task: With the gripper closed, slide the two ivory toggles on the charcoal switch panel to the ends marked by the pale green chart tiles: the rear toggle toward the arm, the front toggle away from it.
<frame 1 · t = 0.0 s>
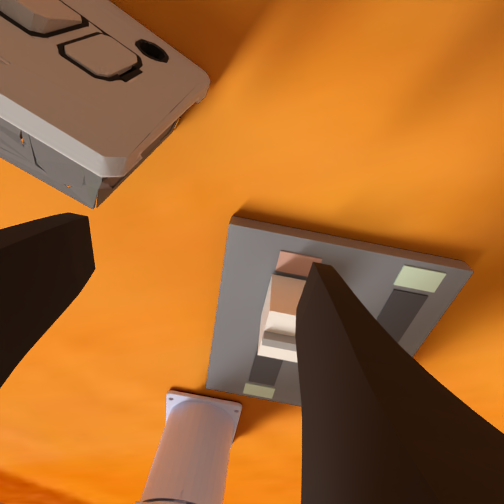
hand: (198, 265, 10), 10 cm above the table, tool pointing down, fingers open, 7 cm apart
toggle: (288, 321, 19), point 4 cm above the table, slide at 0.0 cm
switch panel: (311, 330, 25), on the table
electrical switch: (124, 74, 16), on the table
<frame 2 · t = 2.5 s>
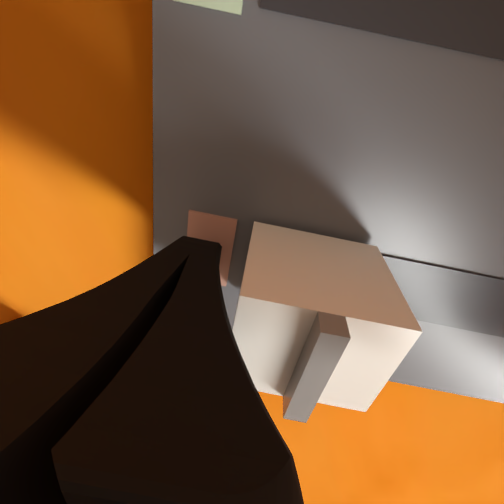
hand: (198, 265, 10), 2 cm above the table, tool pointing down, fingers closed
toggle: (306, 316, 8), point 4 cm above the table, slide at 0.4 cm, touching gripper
switch panel: (429, 198, 10), on the table
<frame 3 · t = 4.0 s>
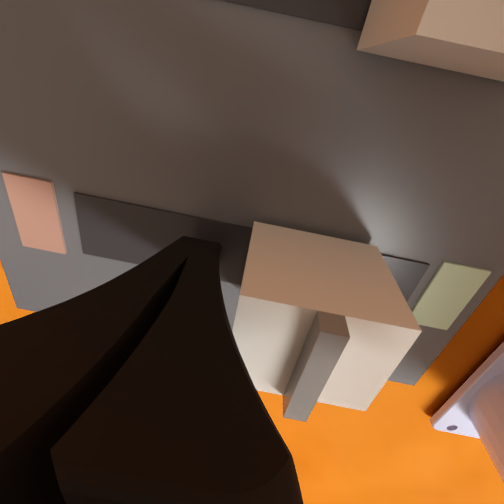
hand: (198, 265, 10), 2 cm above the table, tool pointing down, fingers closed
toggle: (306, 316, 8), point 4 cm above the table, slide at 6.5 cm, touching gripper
switch panel: (251, 161, 10), on the table
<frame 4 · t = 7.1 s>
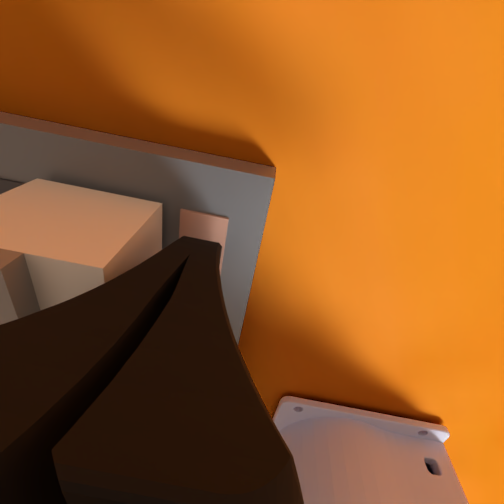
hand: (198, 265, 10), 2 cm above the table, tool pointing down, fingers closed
switch panel: (54, 294, 14), on the table
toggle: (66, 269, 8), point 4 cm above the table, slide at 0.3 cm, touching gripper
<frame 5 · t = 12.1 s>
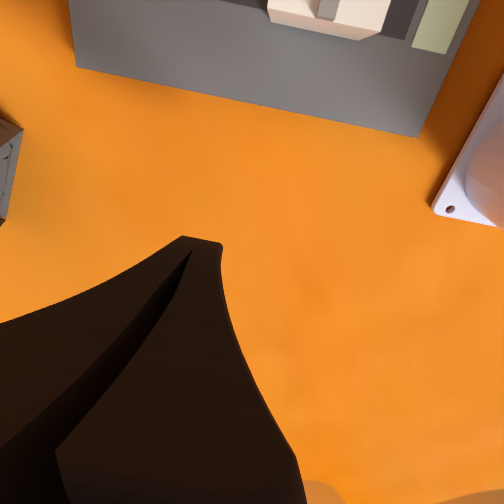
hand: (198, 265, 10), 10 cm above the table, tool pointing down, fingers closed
electrical switch: (2, 165, 20), on the table
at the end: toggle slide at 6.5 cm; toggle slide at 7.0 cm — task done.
